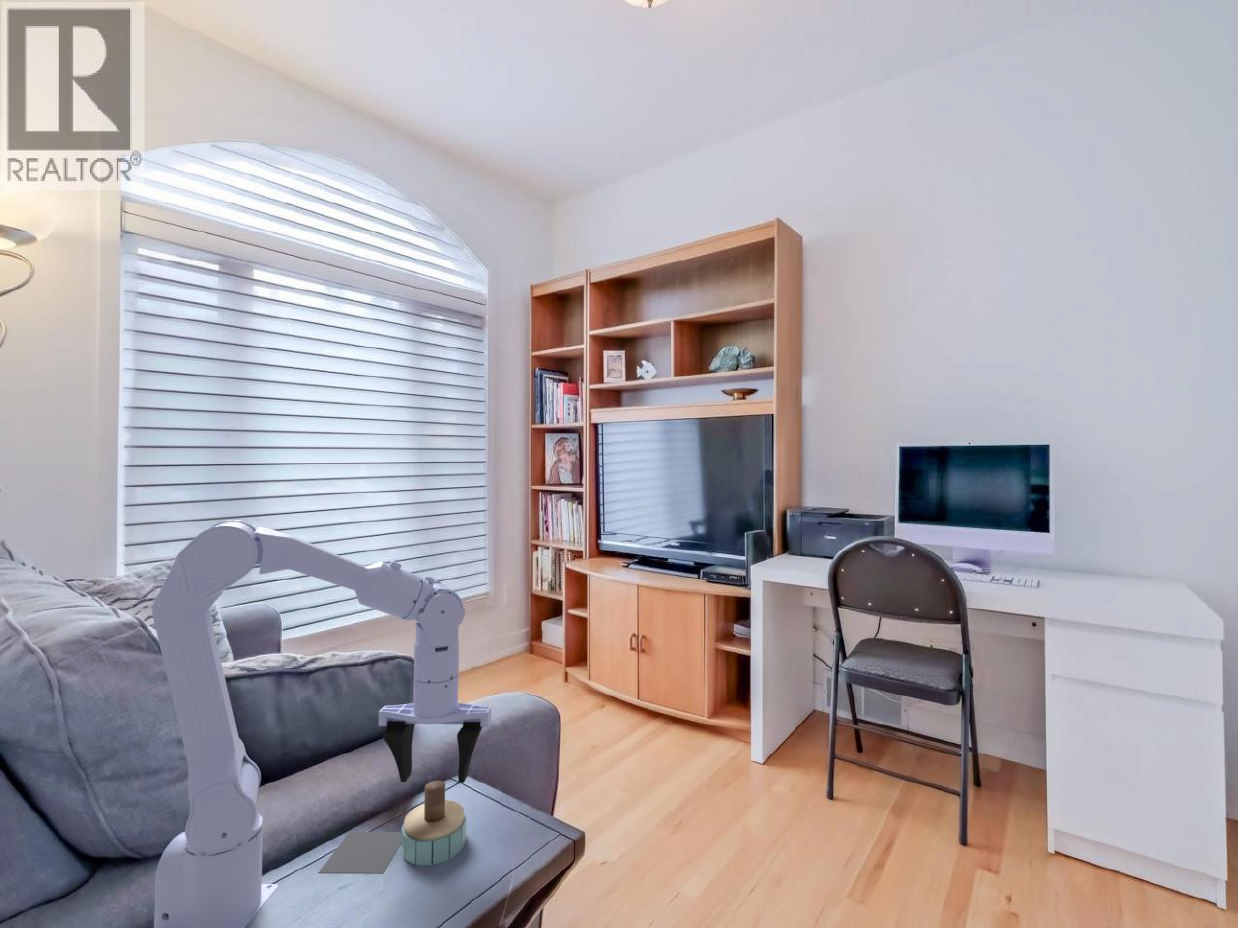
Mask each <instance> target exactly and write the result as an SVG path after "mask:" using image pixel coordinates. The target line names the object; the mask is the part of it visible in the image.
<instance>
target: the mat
mask: <svg viewBox="0 0 1238 928" xmlns="http://www.w3.org/2000/svg"><path fill="white" fill-rule="evenodd" d="M401 833H402V831H399V832H398V831H349V832H348V833H347V834H346V836H345V837H344V838H343V839H342V841H341V842H340V843H339V845H338V846H337V847H336V849H335V850H334V851H333V853H332V854H331V855H330V857H329V858H328V859H327V860H326V862H325V863H324V865H322V867H321V868H320V870H319V871H318V874H384V873H385V872H386V870H387V868H388V866H389V864H390V863H391V861H392V860H393V857H394V856H395V854H396V852H397V851H398V849H400V847H401Z"/></svg>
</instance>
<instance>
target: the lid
mask: <svg viewBox="0 0 1238 928" xmlns="http://www.w3.org/2000/svg"><path fill="white" fill-rule="evenodd" d="M464 814H465V810H464V807H463V806H462V805H461V804H460V803H458V802H456V801H453V800H448V799H447V800H446V783H445V782H444V781H442V780H433V781H430V782H428V783H427V784H425V785H424V802H423V803H422V804H420V805H418V806H416V807H415V808H412V810H410V811H409V812H408V813H407V814H406V816H405V817H404V821H403V824H404V831H405V833H406V835H407V836H408V837H410V838H412V839H415V840H420V841H430V840H436V839H440V838H443V837H446V836H448V835H450V834H452V833H454V832H455V831H456V830H458V829H459V828H460V826H461V825H462V824H463V821H464Z"/></svg>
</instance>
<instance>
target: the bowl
mask: <svg viewBox="0 0 1238 928" xmlns="http://www.w3.org/2000/svg"><path fill="white" fill-rule="evenodd" d="M401 832H402V833H401V844H400V851H401V854H402V859H404V861H406V862H407V863H408V862H409V863H410V864H412V865H414V866H415V865H416V866H432V865H434V866H435V865H437V864H441V863H444V862H446V861H449V860H451V859H453V858H454V857H455V856H456V855H458V854H459V853H460V852H462V850H463V849H464V847H465V844H466V842H467V815H466V814H465V813H464V821H463V824H462V825H461V826H460V828H459V829H458V830H456V831H455V832H454V833H452V834H450V835H448V836H446V837H443V838H440V839H436V840H430V841H420V840H415V839H412V838H410V837H408V836H407V835H406V833H405V831H404V823H403V824H402V826H401Z"/></svg>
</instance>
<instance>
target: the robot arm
mask: <svg viewBox="0 0 1238 928" xmlns="http://www.w3.org/2000/svg"><path fill="white" fill-rule="evenodd" d="M256 565H260V566H259V567H260V568H259V572H258V573H259V575H265V574H272V573H277V572H280V571H281V572H282V571H286V570H287V571H288V570H291V571H294V572H297V573H301V574H303V575H306V576H309V577H313V578H315V579H318V580H322V581H324V582H327V583H330V584H334V585H337V586H341V587H343V588H346V589H350V590H352V591H354V593H355V596H356V598H357V601H358V603H359V604H360V605H363V606H365V607H368V608H370V609H373V610H375V611H379V612H382V613H384V614H388V615H390V616H393V617H395V618H398V619H401V620H404V621H412V620H415V621H416V623H415V640H414V645H413V646H414V647H413V648H414V652H413V654H414V655H413V695H412V696H413V700H412V703H404V704H393V705H384V706H383V707H382V708H381V709H379V711H378V726H379V727H386V728H385V731H384V732H383V735H382V736H383V741H384V742H385V743H386V745H387V746H388V748H389V750H390V752H391V754H392V757H393V758H394V762H395V763H396V764H395V765H396V768H397V771H398V775H399V780H400V783H406V782H407V781H408V780H409V779H410V777H411V775H412V771H413V770H412V769H413V740H414V731H415V725H462V726H461V728H460V729H459V731H458V732H457V734H456V739H457V746H458V758H459V759H458V762H459V763H458V772H457V773H458V775H457V776H458V777H457V778H458V779H457V780H458V783H459V784H464V783H465V782H466V780H467V777H468V775H469V770H470V764H471V760H472V756H473V753H474V750H475V746H476V743H477V742H478V738H479V737H480V736H479V735H480V734H481V732H482V729H483V728H488V727H489V725H490V724H491V722H492V706H489V705H488V706H487V705H486V706H483V705H476V704H472V703H471V704H470V703H465V702H460V701H459V669H460V668H459V667H460V666H459V664H460V663H459V661H460V660H459V659H460V658H459V657H460V640H459V627H460V625H461V624H462V623H463V620H464V618H465V616H466V615H465V614H466V609H465V608H464V603H463V600H462V599H461V597H460V596H459V594H458V593H457V592H455V591H454V590H453V589H452V588H449V587H448V586H447V585H445V584H443V583H442V582H441V581H440V580H439V581H438V580H435V578H433V577H432V576H429V575H426V576H425V577H423V576H420V575H417V574H414V573H413V572H409V571H407V570H405V569H402V564H401V563H399V562H397V561H394V560H390V561H389V563H387V562H384V561H378V562H374V563H372V564H370V565H362V564H361V563H357V562H355V561H353V560H351V559H348V558H347V557H343V556H341V555H340V554H336V553H334V552H331V551H330V550H328V549H325V548H322V547H320V546H318V545H315V544H313V543H310V542H308V541H306V540H303V539H302V538H299V537H297V536H294V535H291V534H287V533H286V532H282V531H279V530H275V529H271V528H268V527H262V526H258V527H257V528H255V527H254V526H253V525H252V524H250V523H248V522H246V521H243V520H238V519H229V520H227V519H226V520H223V521H220V522H218V523H214V524H213V525H212V526H211V527H209V528H207V529H205V530H203V531H202V532H200V533H199V534H198V535H197V536H195V537H194V538H193V539H192V540H191V541H190V542H188V544H186V546H185V547H184V548H183V549H182V550H180V551H179V552H178V553H177V554H176V557H175V559H174V562H173V563H172V567H171V569H170V571H169V572H168V575H167V576H166V578H165V580H164V582H163V584H162V586H161V588H160V590H159V592H158V594H157V595H156V597H155V599H154V601H153V603H152V606H151V611H152V612H151V613H152V615H151V616H152V619H153V623H154V626H155V631H156V635H157V640H158V644H159V649H160V653H161V657H162V661H163V665H164V669H165V673H166V677H167V682H168V684H169V690H170V694H171V697H172V703H173V706H174V712H175V717H176V719H177V723H178V728H179V732H180V736H181V740H182V744H183V747H184V751H185V757H186V762H187V767H188V768H187V770H188V771H187V772H188V774H187V775H188V776H187V777H188V778H187V795H188V801H189V808H190V809H189V815H188V817H187V820H186V824H185V829H184V831H183V832H180V833H179V834H178V835H176V836H175V837H174V838H173V839H172V840H171V841H170V842H169V844H168V845H167V846H166V847H165V849H164V851H163V853H162V854H161V857H160V859H159V861H158V865H157V866H156V867H157V868H156V871H155V878H154V879H155V880H154V912H153V913H154V915H153V916H154V917H153V918H154V919H153V928H245V927H246V926H247V925H248V924H249V923H250V921H251V920H252V919H253V918H254V916H255V915H257V913H258V911H260V909H261V908H263V906H264V904H266V902H267V901H268V899H270V898H271V896H272V895H273V894H274V893H275V892H276V891H277V889H278V887H279V884H277V883H274V884H273V883H262V882H263V880H262V879H263V840H264V839H263V835H264V834H263V833H264V832H263V831H264V830H263V829H264V828H263V827H264V820H263V819H264V818H263V816H262V814H260V812H258V808H257V802H258V793H259V792H258V791H259V789H260V785H261V781H262V774H261V770H260V768H259V766H258V765H257V763H255V762H254V761H253V760H252V759H251V758H250V757H249V756H248V754H247V752H246V748H245V747H246V746H245V745H244V743H243V741H242V740H241V738H240V737H239V733H238V729H237V725H236V720H235V715H234V710H233V708H232V703H231V699H230V695H229V691H228V690H229V689H228V686H227V682H226V681H227V680H226V677H225V673H224V669H223V663H222V660H221V655H220V651H219V647H218V642H217V639H216V635H215V630H214V626H213V621H212V617H211V612H210V608H211V607H212V606H213V605H214V603H216V601H217V600H218V598H219V597H221V595H222V594H223V592H224V591H225V590H227V589H228V588H229V587H230V586H232V585H233V586H234V584H236V583H237V582H238V581H240V580H242V579H243V578H244V577H246V575H248V574H249V573H250V572H251V571H252V570H253V568H254V567H255V566H256Z"/></svg>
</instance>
